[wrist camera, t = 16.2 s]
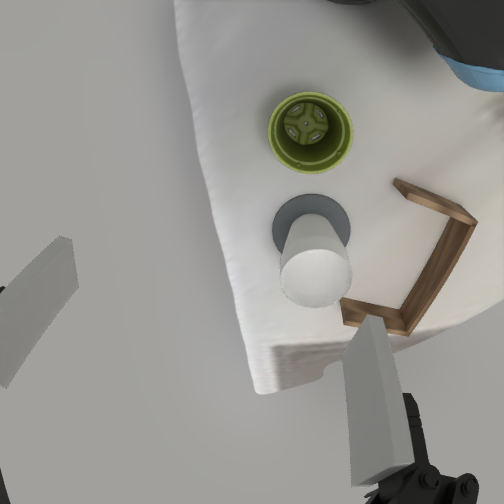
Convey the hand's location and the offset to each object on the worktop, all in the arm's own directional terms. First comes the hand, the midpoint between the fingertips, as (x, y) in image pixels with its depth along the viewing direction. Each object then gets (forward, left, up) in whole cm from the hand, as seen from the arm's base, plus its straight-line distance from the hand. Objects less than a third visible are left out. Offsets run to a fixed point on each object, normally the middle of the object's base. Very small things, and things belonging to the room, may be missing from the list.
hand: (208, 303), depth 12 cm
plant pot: (-6, +2, -33) cm, 33 cm away
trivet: (+5, +14, -33) cm, 36 cm away
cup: (+5, +14, -32) cm, 36 cm away
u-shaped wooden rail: (-3, +28, -33) cm, 43 cm away
